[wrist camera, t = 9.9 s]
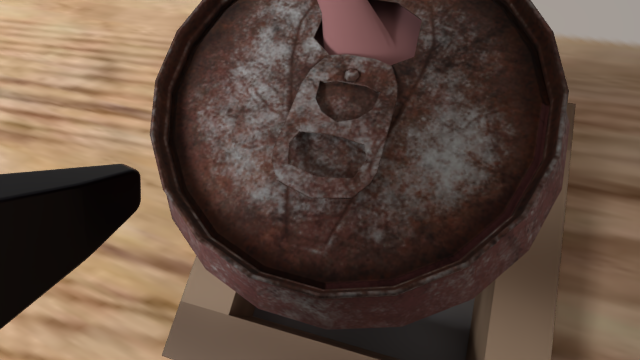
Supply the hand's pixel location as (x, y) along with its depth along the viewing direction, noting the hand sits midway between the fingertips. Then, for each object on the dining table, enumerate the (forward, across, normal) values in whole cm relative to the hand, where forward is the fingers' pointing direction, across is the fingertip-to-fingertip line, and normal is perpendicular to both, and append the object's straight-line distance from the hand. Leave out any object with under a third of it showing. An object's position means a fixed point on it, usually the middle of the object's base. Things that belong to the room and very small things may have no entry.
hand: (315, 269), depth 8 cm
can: (+9, 0, +6) cm, 11 cm away
